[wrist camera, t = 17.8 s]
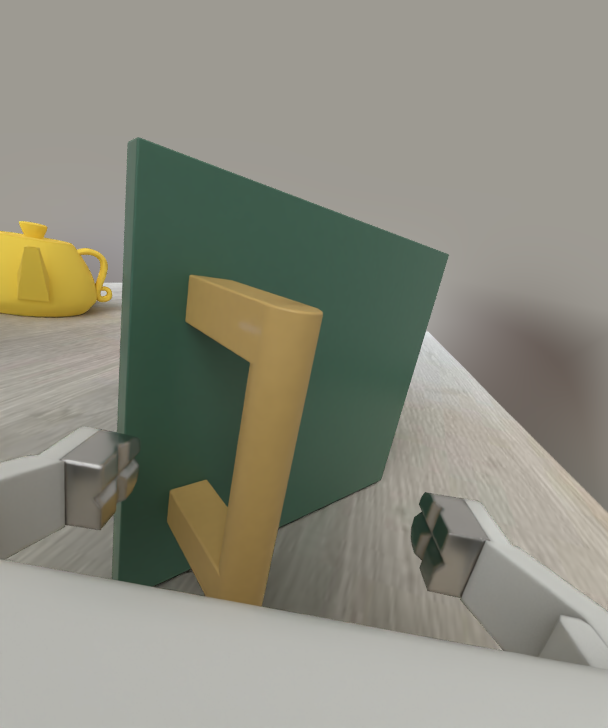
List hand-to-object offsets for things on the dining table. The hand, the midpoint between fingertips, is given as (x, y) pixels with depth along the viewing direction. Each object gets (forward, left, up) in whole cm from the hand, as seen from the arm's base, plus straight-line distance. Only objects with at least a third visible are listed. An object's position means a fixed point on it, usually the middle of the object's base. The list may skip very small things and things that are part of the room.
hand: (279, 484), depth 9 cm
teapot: (+36, +48, -9) cm, 60 cm away
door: (+7, -2, -8) cm, 11 cm away
